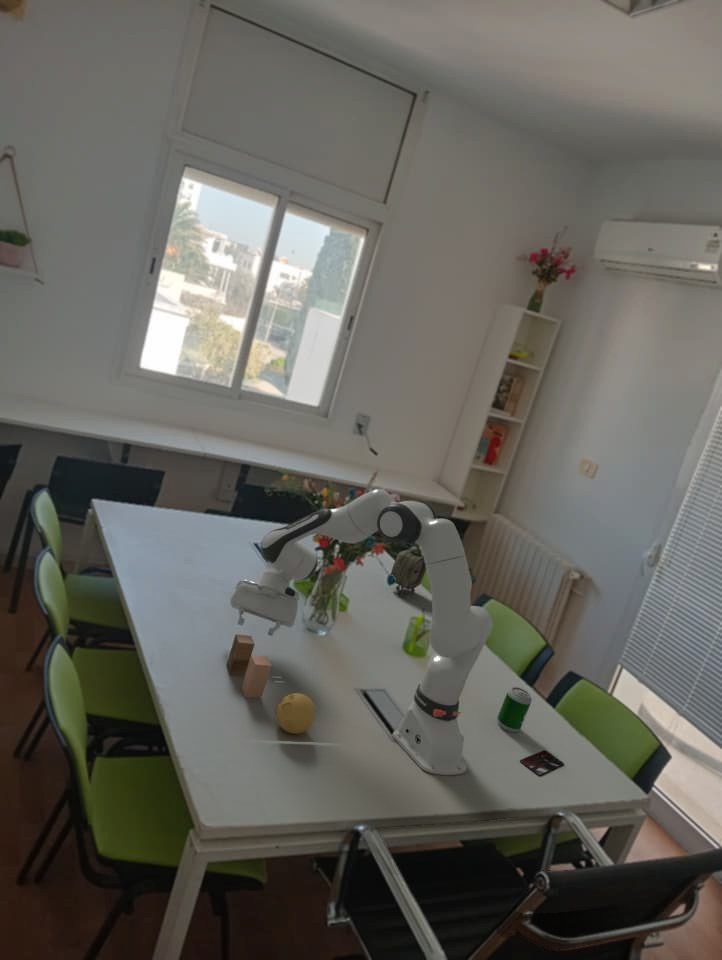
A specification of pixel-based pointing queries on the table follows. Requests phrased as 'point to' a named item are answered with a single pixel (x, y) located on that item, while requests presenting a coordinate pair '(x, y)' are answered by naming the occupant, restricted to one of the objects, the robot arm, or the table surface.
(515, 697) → the soda can
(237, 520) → the table surface
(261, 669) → the terracotta pillar
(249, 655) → the walnut pillar
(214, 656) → the table surface
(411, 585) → the rolling backpack
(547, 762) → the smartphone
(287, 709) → the stress ball
